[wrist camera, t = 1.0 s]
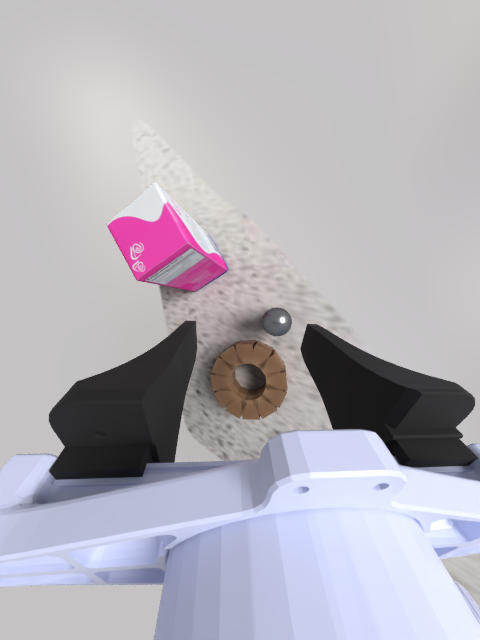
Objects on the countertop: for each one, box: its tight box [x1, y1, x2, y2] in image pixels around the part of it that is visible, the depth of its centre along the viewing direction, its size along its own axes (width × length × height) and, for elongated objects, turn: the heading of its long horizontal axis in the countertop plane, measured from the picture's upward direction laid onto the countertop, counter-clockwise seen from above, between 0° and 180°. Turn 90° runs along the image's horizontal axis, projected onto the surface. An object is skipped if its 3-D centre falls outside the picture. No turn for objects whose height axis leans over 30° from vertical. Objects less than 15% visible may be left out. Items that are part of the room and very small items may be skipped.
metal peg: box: [263, 308, 292, 336], centre depth 22 cm, size 3×3×6 cm
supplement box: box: [107, 183, 228, 292], centre depth 21 cm, size 6×6×12 cm
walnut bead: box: [211, 340, 287, 420], centre depth 24 cm, size 9×9×3 cm
